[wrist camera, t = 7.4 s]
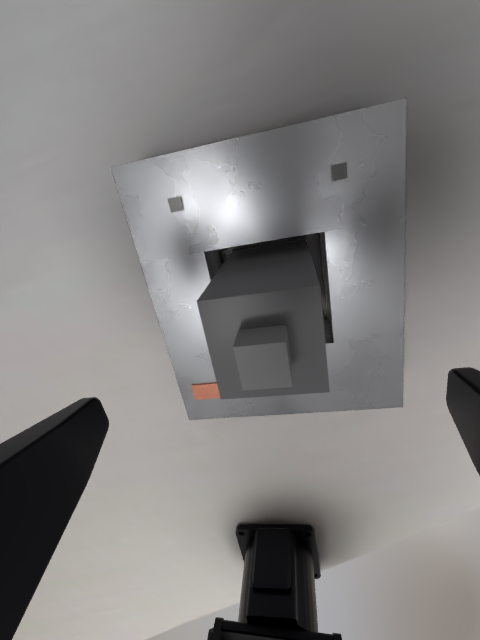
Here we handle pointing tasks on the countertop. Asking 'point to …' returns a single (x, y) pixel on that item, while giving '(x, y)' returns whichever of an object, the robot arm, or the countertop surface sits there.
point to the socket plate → (277, 223)
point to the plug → (266, 323)
